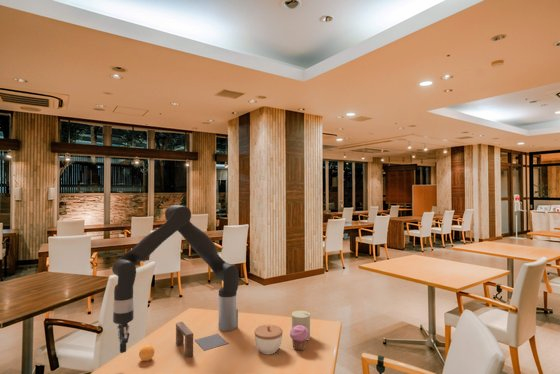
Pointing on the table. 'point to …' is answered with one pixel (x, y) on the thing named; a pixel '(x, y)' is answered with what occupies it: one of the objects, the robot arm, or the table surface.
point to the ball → (146, 353)
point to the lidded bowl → (268, 338)
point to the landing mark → (211, 342)
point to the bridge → (185, 331)
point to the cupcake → (299, 336)
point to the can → (301, 319)
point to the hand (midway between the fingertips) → (122, 351)
